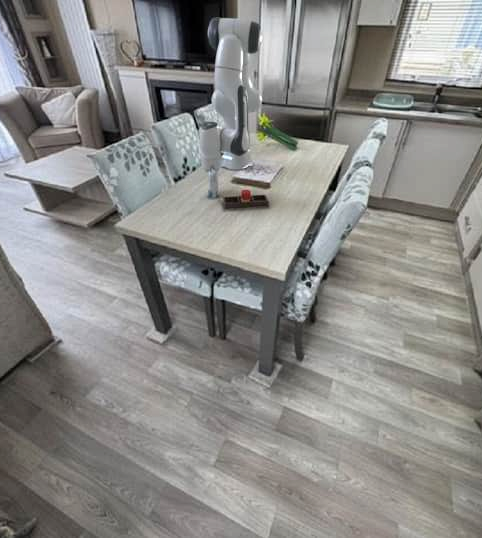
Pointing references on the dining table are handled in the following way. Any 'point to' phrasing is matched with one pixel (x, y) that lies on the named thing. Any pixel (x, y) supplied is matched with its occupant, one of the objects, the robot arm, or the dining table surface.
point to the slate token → (211, 193)
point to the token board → (239, 204)
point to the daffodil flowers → (275, 134)
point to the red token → (245, 194)
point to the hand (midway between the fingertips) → (213, 192)
